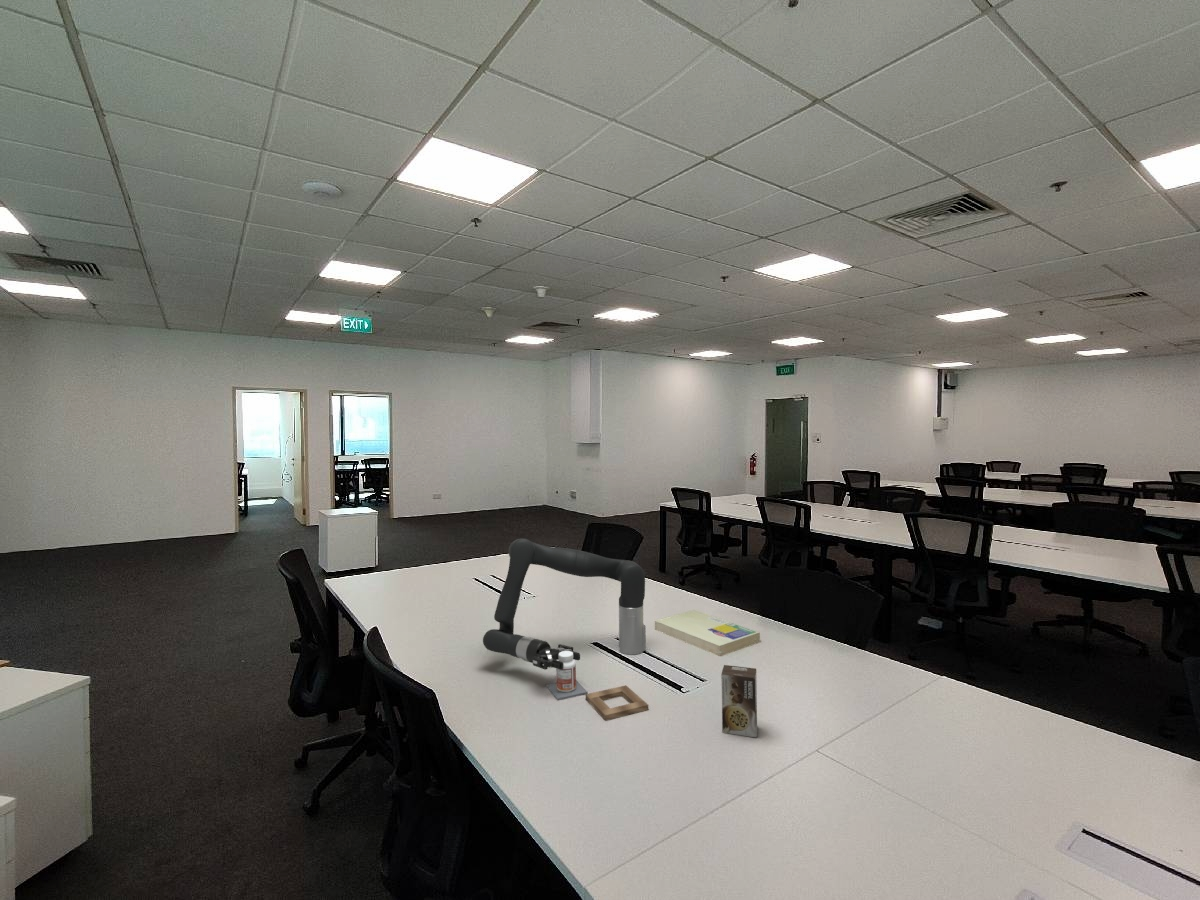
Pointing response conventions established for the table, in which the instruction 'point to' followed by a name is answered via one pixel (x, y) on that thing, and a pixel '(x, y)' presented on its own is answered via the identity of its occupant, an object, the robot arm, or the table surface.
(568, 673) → the pill bottle
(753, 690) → the coffee box
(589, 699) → the board
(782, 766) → the table surface
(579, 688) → the pad
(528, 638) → the robot arm
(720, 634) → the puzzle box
